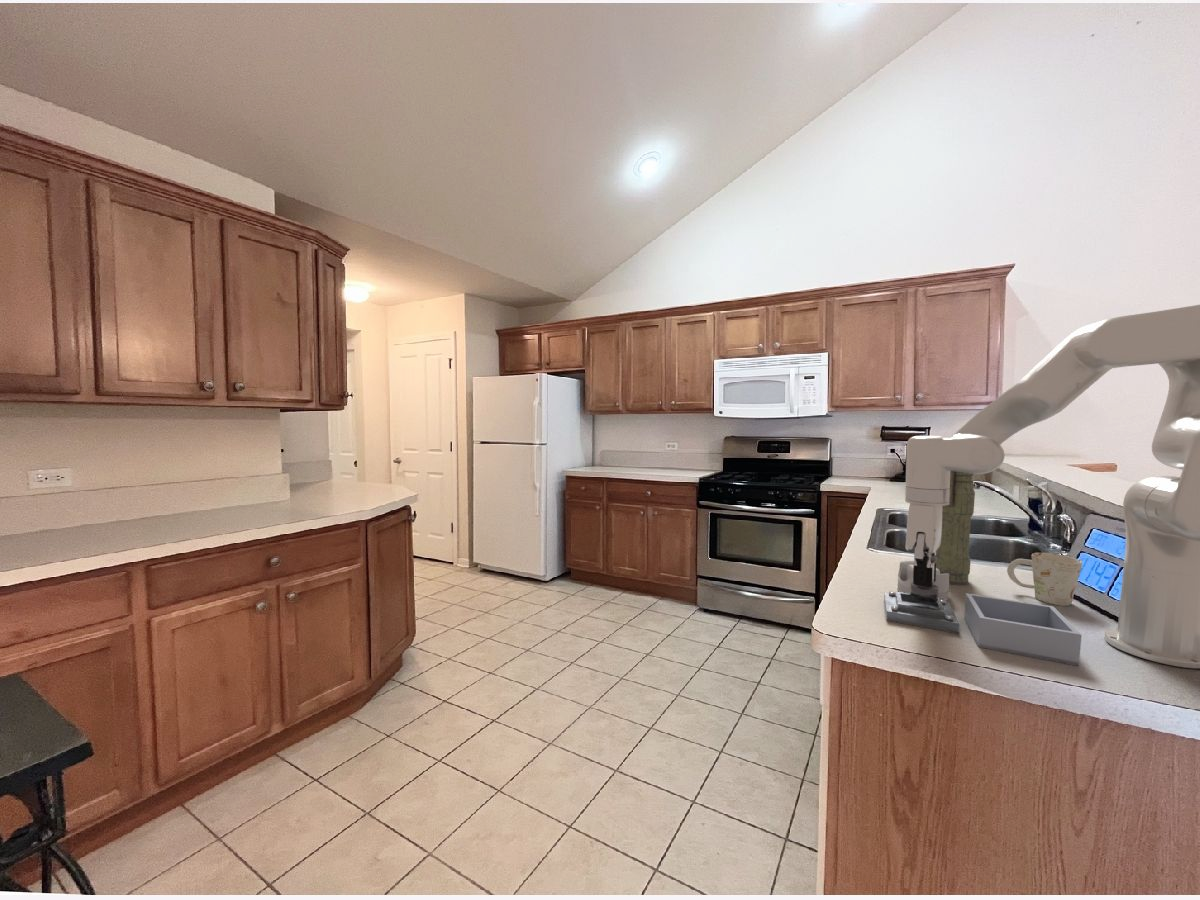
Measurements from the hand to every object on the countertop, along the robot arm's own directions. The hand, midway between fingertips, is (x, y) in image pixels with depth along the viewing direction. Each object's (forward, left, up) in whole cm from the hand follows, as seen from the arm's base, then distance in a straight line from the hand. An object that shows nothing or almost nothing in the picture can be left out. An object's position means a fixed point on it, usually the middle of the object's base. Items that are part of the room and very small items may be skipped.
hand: (924, 582), depth 100 cm
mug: (-25, -26, -8) cm, 37 cm away
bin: (-14, +4, -7) cm, 17 cm away
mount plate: (+1, 0, -7) cm, 7 cm away
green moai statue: (-8, -31, -8) cm, 33 cm away
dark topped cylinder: (0, 0, -3) cm, 3 cm away
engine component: (-1, -16, -8) cm, 18 cm away
